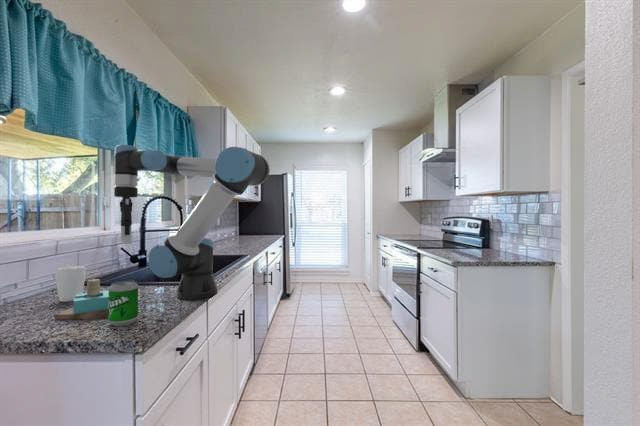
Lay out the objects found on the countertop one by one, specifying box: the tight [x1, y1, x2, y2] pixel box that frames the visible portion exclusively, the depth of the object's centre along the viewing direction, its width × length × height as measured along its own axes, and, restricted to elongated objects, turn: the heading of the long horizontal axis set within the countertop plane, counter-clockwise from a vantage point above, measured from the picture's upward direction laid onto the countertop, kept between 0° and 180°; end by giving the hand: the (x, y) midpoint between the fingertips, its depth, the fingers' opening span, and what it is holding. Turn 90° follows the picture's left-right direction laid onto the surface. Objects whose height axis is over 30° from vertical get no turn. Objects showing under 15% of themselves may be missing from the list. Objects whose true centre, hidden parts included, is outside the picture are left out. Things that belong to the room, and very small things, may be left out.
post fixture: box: [54, 278, 108, 320], centre depth 103 cm, size 14×14×10 cm
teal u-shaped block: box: [72, 289, 109, 314], centre depth 103 cm, size 10×10×4 cm
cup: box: [54, 265, 87, 303], centre depth 117 cm, size 9×9×12 cm
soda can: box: [107, 280, 139, 327], centre depth 93 cm, size 8×8×12 cm
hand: (125, 242), depth 117 cm, fingers open, 13 cm apart
